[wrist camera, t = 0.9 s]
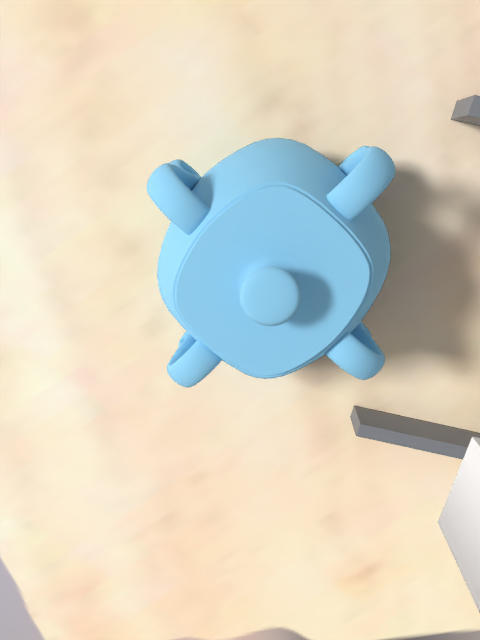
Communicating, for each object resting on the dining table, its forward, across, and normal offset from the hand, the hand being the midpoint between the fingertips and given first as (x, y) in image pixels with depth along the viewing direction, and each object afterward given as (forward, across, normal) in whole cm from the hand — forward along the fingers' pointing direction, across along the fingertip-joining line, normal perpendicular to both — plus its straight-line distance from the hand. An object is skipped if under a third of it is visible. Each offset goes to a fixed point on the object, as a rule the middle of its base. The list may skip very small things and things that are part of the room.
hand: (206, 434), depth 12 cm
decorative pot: (+26, +2, 0) cm, 27 cm away
